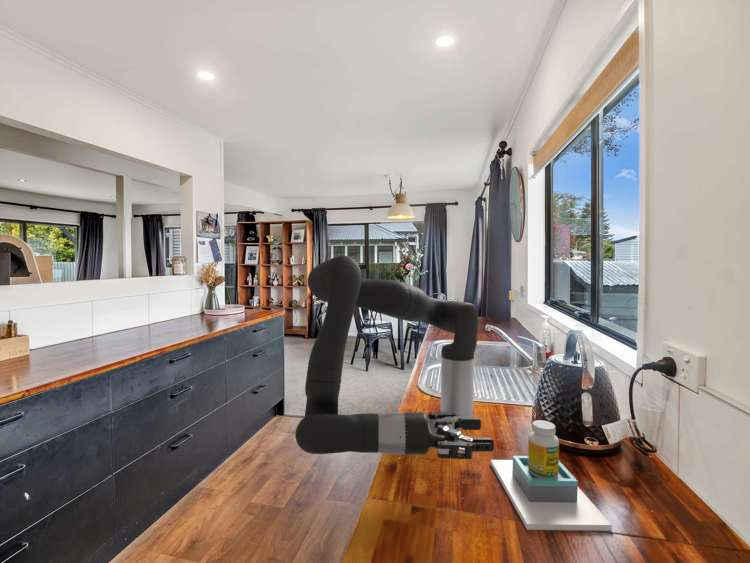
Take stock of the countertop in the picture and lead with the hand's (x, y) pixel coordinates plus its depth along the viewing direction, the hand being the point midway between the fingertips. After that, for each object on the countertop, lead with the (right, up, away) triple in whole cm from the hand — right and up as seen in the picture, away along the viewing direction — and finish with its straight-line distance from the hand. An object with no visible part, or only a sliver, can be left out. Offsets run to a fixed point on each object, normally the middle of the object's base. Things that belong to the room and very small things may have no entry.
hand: (486, 433), depth 71 cm
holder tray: (+11, -12, 0) cm, 16 cm away
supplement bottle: (+11, -8, 0) cm, 13 cm away
